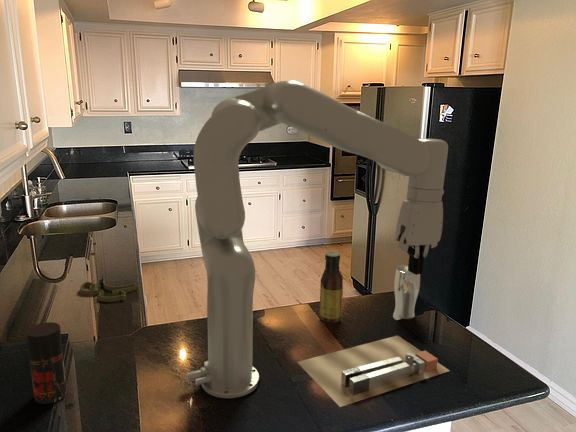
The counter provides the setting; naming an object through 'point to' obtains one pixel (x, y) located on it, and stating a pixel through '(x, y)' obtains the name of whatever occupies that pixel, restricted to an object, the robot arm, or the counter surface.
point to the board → (331, 365)
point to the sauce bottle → (331, 289)
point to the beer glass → (405, 292)
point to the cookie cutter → (117, 291)
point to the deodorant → (46, 361)
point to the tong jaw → (368, 369)
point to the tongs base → (386, 375)
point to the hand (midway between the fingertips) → (414, 272)
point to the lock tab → (428, 360)
